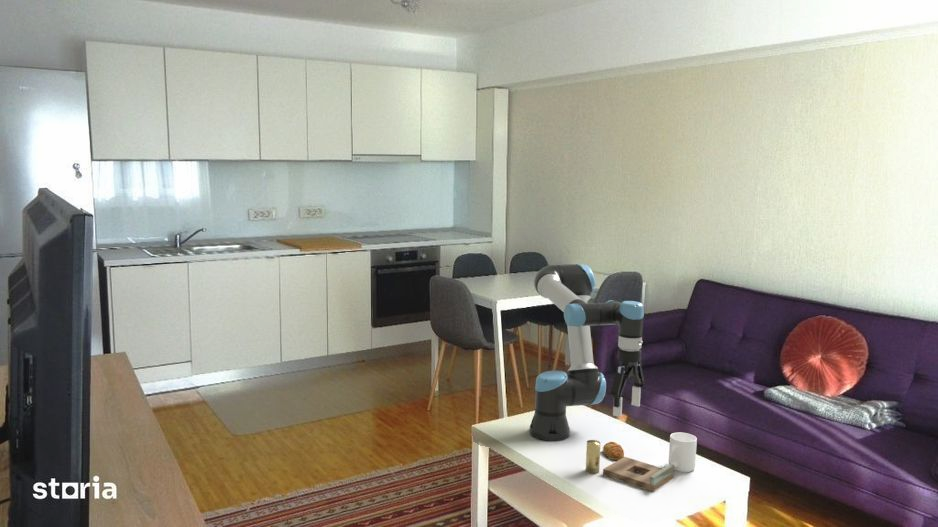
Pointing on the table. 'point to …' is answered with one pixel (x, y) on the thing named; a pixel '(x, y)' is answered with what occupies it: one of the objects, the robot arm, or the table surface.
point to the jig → (649, 480)
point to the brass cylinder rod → (593, 457)
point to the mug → (682, 451)
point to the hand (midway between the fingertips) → (626, 410)
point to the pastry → (613, 451)
